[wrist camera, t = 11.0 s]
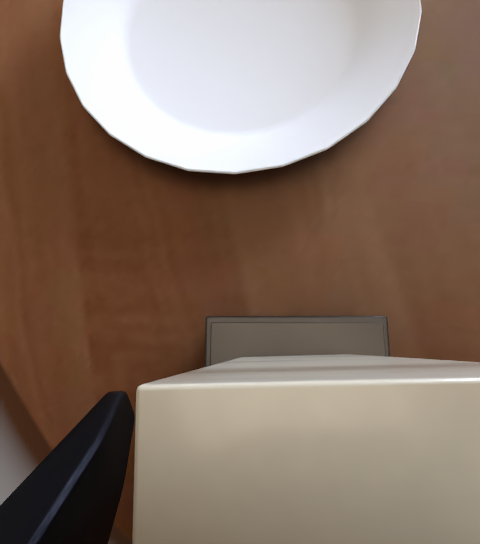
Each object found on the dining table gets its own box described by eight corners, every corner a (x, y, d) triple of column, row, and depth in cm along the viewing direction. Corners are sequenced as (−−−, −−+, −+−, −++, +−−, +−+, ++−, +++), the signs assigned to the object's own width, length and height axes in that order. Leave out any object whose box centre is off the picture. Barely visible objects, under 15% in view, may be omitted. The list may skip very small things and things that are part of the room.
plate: (163, 254, 22) (151, 243, 19) (32, -5, 26) (10, -38, 24) (477, 84, 22) (500, 55, 20) (297, -140, 27) (299, -184, 24)
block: (360, 473, 15) (855, 1157, 2) (243, 473, 15) (115, 1076, 3) (349, 354, 16) (662, 373, 3) (240, 357, 16) (134, 386, 4)
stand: (377, 487, 18) (405, 524, 15) (213, 482, 19) (199, 516, 15) (367, 321, 20) (390, 315, 16) (216, 321, 21) (203, 315, 17)
